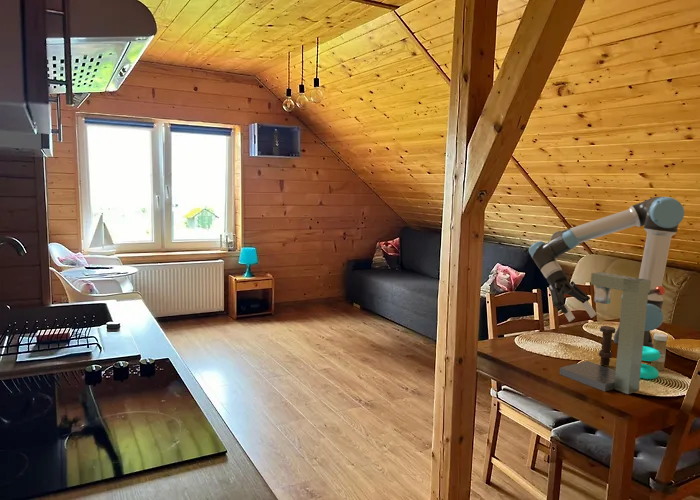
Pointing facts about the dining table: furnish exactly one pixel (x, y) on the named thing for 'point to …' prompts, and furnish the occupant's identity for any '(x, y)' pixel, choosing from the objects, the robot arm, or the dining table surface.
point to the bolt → (606, 344)
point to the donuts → (648, 370)
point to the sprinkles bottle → (661, 347)
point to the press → (629, 335)
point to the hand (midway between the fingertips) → (583, 318)
